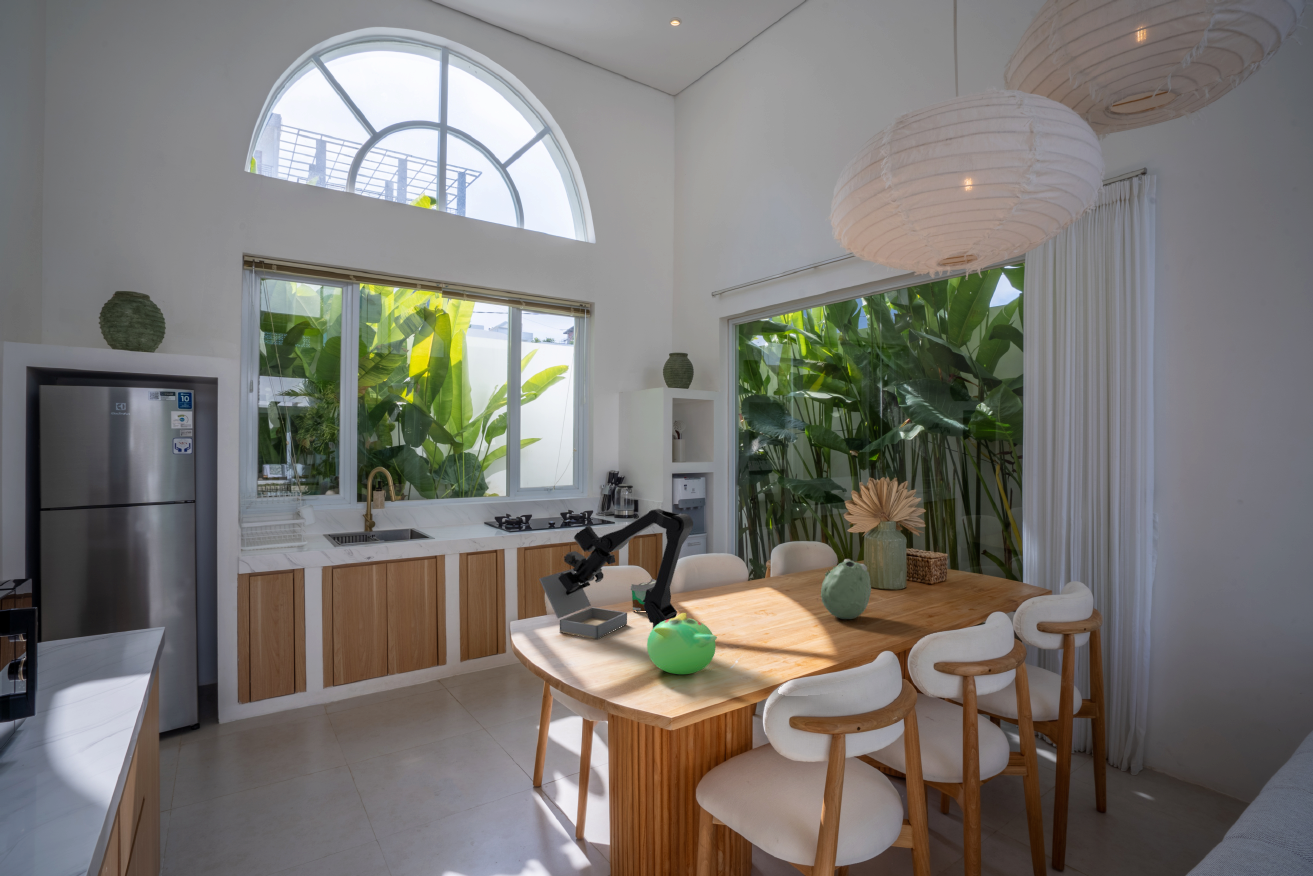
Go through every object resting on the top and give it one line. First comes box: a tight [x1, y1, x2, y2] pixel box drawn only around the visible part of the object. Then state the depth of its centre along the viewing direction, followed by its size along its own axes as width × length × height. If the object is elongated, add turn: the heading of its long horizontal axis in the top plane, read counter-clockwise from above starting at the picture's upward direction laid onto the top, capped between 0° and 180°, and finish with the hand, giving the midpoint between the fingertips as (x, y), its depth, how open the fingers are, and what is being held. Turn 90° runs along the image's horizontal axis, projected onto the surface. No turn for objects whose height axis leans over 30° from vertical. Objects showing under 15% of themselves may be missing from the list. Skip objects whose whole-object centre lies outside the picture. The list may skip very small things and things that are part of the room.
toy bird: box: [646, 612, 717, 675], centre depth 167 cm, size 18×17×15 cm
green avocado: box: [820, 558, 872, 620], centre depth 220 cm, size 16×19×20 cm
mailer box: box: [559, 606, 628, 640], centre depth 205 cm, size 14×18×4 cm
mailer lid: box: [539, 568, 592, 619], centre depth 211 cm, size 14×18×1 cm
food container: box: [630, 578, 657, 611], centre depth 228 cm, size 12×6×10 cm, turn 143°
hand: (567, 593), depth 210 cm, fingers closed, pressing on mailer lid
